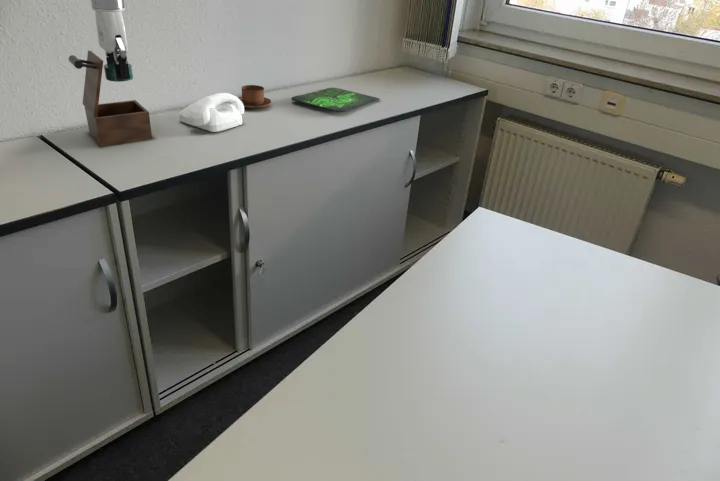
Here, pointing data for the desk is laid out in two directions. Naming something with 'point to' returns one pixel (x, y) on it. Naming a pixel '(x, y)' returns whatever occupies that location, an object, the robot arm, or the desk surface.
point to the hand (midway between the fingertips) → (119, 75)
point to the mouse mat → (335, 99)
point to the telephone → (214, 112)
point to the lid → (90, 80)
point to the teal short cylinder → (111, 72)
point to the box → (119, 123)
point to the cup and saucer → (254, 97)
